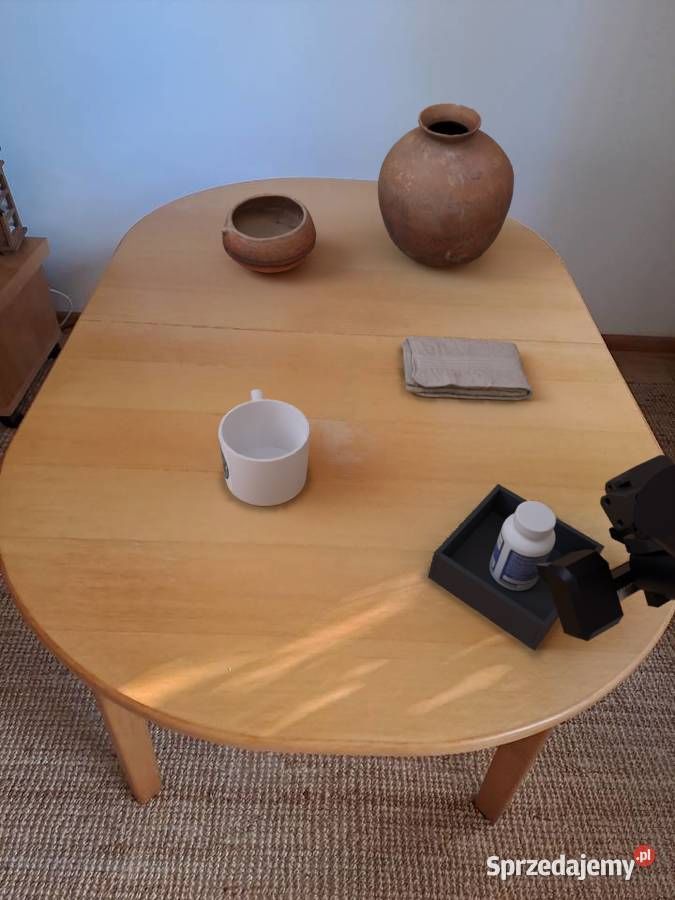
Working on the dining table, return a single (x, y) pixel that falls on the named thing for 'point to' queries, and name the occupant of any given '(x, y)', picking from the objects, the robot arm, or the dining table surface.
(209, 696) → the dining table surface
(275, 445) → the mug
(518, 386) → the washcloth
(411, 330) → the dining table surface
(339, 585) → the dining table surface
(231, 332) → the dining table surface
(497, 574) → the pill bottle
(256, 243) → the bowl
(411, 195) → the pottery
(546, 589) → the black square tray
